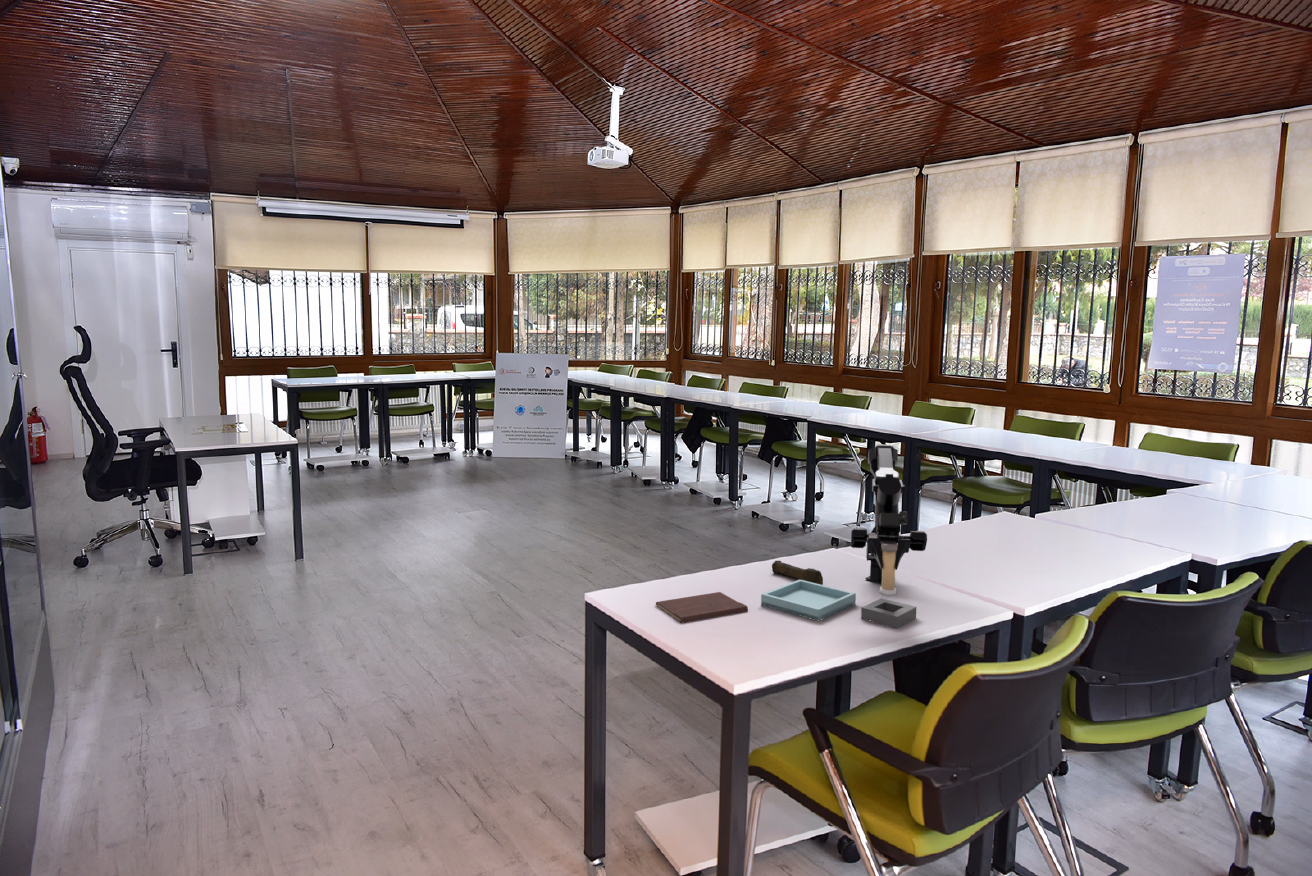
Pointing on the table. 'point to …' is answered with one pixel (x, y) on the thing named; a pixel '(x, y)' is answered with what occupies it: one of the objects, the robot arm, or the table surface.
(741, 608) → the notebook
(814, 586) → the parts tray
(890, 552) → the fuse
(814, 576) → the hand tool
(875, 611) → the socket block
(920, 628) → the table surface
